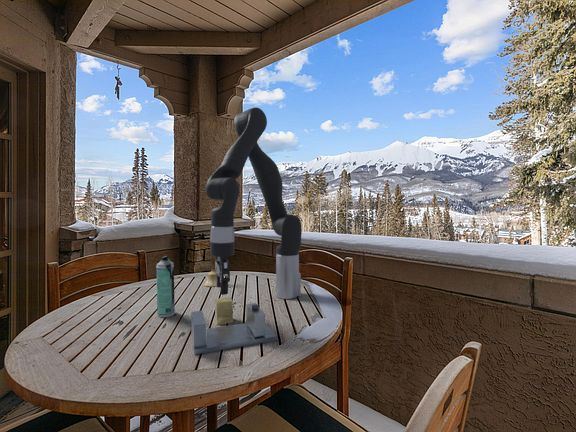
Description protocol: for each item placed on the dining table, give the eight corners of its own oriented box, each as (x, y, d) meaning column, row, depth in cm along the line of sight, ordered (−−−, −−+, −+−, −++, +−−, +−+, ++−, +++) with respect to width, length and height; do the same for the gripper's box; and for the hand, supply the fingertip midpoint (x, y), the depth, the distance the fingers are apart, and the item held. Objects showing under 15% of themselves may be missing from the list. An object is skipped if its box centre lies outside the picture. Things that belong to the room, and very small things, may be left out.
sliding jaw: (255, 322, 94) (255, 299, 94) (265, 335, 85) (265, 310, 84) (246, 323, 93) (246, 300, 93) (254, 337, 84) (254, 312, 83)
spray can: (178, 312, 106) (177, 255, 105) (167, 318, 101) (165, 258, 100) (165, 310, 108) (164, 254, 107) (153, 316, 103) (152, 257, 102)
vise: (264, 324, 96) (264, 301, 96) (276, 340, 85) (276, 315, 85) (191, 335, 88) (190, 310, 88) (194, 354, 77) (193, 326, 77)
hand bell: (208, 281, 146) (208, 248, 145) (225, 282, 145) (224, 249, 144) (201, 286, 138) (200, 251, 137) (218, 287, 137) (218, 252, 136)
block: (230, 317, 101) (230, 297, 101) (232, 322, 98) (232, 300, 97) (215, 320, 99) (215, 298, 99) (217, 324, 96) (216, 302, 95)
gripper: (238, 242, 92) (238, 295, 93) (230, 237, 105) (230, 283, 106) (213, 243, 89) (212, 298, 90) (208, 238, 103) (207, 285, 103)
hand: (222, 290), depth 98 cm, fingers open, 8 cm apart
